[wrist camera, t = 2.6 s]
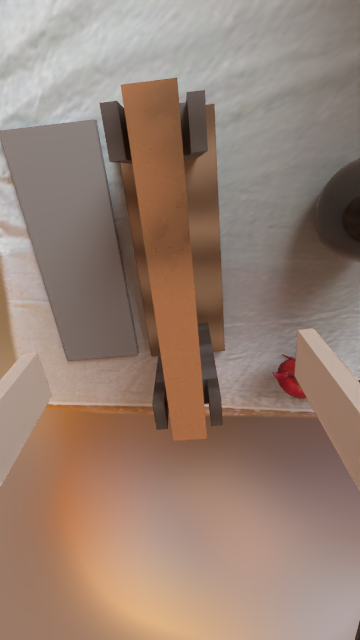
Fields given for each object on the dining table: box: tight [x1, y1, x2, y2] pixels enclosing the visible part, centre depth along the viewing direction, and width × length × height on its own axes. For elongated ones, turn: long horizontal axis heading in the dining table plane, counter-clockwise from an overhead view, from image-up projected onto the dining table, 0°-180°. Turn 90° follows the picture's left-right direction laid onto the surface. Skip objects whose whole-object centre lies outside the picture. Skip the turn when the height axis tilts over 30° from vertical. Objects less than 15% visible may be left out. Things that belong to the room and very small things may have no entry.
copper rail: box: [121, 78, 207, 441], centre depth 24 cm, size 26×3×4 cm, turn 6°
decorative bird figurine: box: [273, 354, 307, 398], centre depth 41 cm, size 3×18×10 cm, turn 59°
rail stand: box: [100, 90, 225, 429], centre depth 31 cm, size 28×10×16 cm, turn 6°
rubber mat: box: [0, 120, 139, 361], centre depth 38 cm, size 28×10×1 cm, turn 6°
